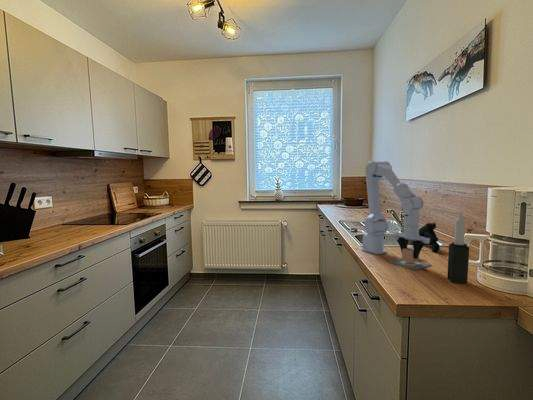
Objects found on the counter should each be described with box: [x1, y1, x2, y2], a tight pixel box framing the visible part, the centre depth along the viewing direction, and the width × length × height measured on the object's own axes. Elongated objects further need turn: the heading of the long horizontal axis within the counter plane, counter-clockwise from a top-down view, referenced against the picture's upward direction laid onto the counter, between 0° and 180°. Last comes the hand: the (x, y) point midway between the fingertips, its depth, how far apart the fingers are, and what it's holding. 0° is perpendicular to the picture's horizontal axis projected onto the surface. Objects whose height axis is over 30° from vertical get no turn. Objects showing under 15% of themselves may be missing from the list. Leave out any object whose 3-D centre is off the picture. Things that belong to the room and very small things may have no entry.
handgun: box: [412, 222, 440, 253], centre depth 147 cm, size 5×23×15 cm, turn 174°
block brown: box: [401, 247, 420, 263], centre depth 119 cm, size 4×4×5 cm
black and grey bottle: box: [446, 211, 470, 285], centre depth 99 cm, size 5×5×25 cm
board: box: [388, 257, 432, 271], centre depth 120 cm, size 12×11×1 cm
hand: (410, 256), depth 119 cm, fingers closed on block brown, 4 cm apart
